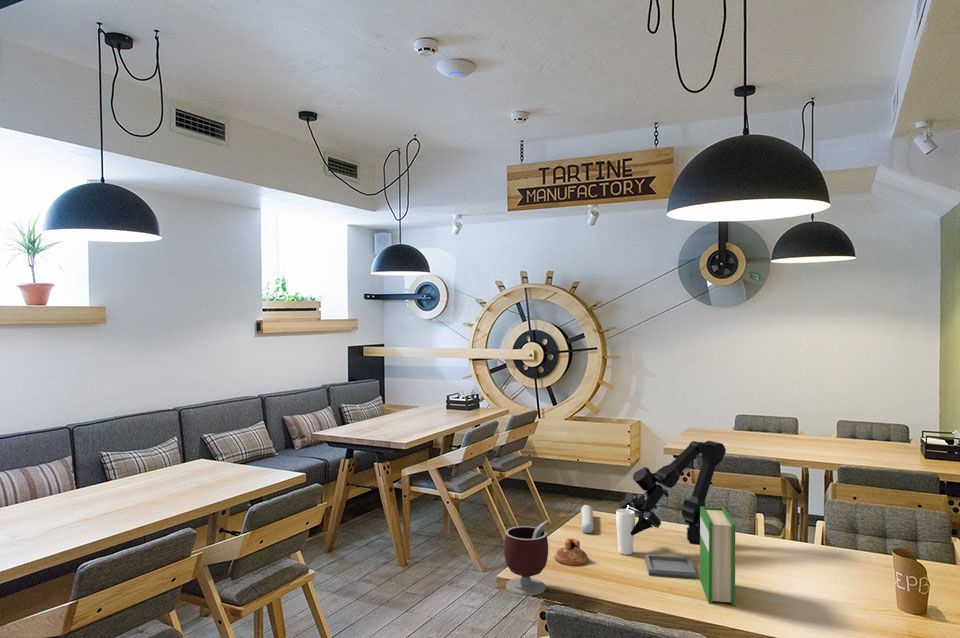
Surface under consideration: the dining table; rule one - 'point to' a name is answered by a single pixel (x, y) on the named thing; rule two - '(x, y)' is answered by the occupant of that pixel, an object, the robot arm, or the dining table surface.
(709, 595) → the hardback book
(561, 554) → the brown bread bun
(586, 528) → the tube
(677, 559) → the serving tray
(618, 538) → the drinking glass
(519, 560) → the mate gourd
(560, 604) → the dining table surface
